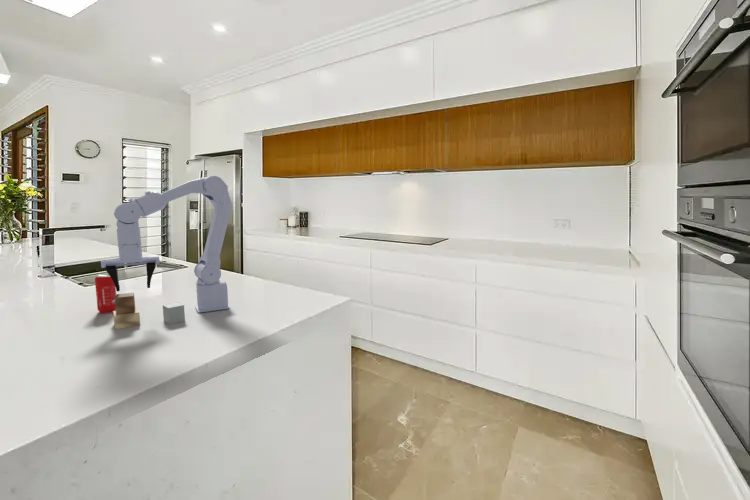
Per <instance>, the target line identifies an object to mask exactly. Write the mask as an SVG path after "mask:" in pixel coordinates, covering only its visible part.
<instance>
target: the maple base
mask: <svg viewBox="0 0 750 500" xmlns="http://www.w3.org/2000/svg"><path fill="white" fill-rule="evenodd" d="M112 314H113V323H114V329H115V330H117V329H125V328H129V327H130V328H131V327H137V326H141V317H140V310H139V309H138V307H135V313H128V314H120V315H116V311H113V312H112Z"/></svg>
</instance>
